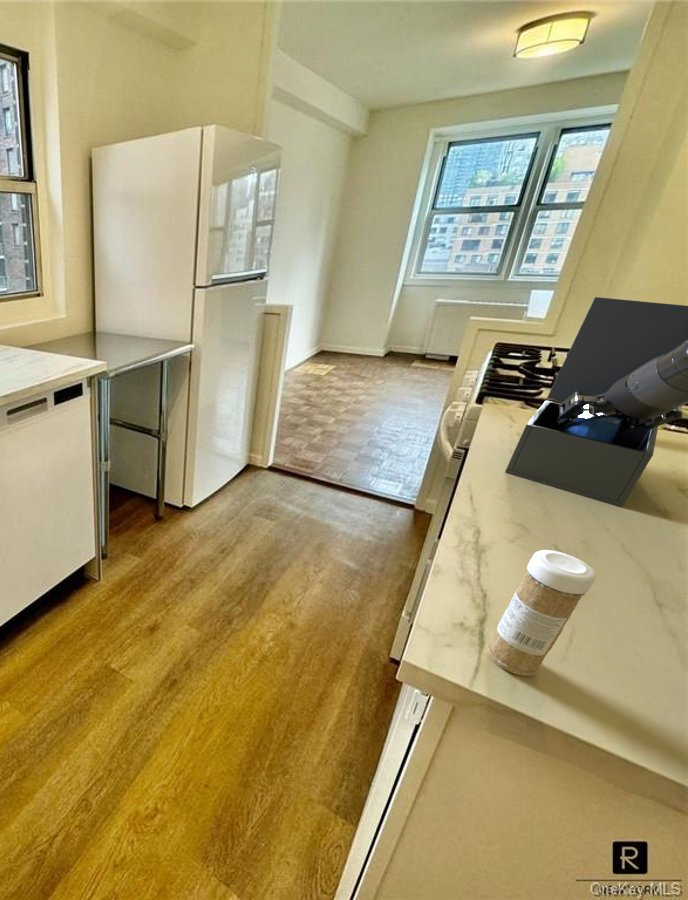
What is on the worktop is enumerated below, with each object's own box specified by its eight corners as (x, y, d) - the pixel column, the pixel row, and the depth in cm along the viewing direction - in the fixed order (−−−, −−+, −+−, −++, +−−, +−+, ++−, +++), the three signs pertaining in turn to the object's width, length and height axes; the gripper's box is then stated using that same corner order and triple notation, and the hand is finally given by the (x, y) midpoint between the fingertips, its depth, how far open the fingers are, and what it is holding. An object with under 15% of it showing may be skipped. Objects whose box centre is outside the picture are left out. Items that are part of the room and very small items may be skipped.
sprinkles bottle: (543, 664, 52) (604, 567, 46) (528, 685, 50) (590, 586, 44) (492, 636, 55) (543, 542, 49) (476, 655, 53) (527, 558, 47)
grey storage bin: (621, 507, 80) (653, 454, 75) (504, 472, 90) (526, 424, 86) (630, 471, 91) (658, 423, 86) (525, 444, 101) (545, 400, 97)
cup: (600, 451, 89) (623, 411, 85) (603, 463, 85) (626, 421, 81) (555, 441, 93) (574, 402, 89) (555, 452, 88) (575, 412, 85)
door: (724, 309, 79) (723, 309, 80) (594, 297, 90) (595, 297, 90) (660, 421, 86) (660, 421, 86) (546, 398, 96) (547, 398, 97)
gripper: (722, 369, 72) (634, 414, 87) (600, 358, 76) (536, 403, 91) (728, 414, 70) (636, 453, 85) (602, 401, 74) (536, 439, 89)
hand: (585, 427), depth 88 cm, fingers closed on cup, 6 cm apart
